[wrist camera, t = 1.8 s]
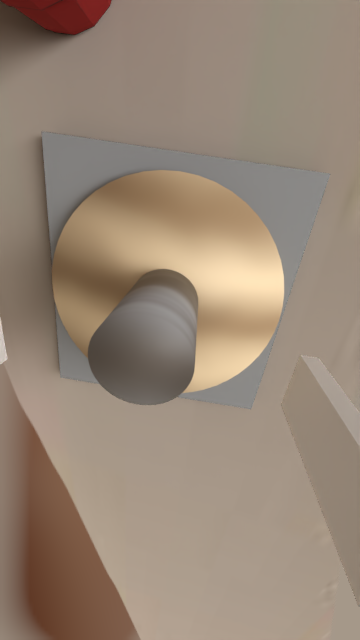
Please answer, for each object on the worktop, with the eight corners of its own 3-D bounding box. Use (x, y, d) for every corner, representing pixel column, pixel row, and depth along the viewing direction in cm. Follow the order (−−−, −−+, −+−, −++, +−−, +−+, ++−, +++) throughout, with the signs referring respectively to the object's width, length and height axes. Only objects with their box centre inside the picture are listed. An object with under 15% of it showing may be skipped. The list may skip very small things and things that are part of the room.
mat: (51, 135, 15) (41, 131, 14) (322, 175, 15) (330, 173, 14) (66, 370, 22) (60, 377, 22) (249, 400, 22) (251, 409, 21)
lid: (51, 153, 15) (-97, 107, 7) (314, 192, 14) (425, 184, 7) (65, 368, 21) (-7, 456, 14) (247, 398, 21) (271, 504, 14)
